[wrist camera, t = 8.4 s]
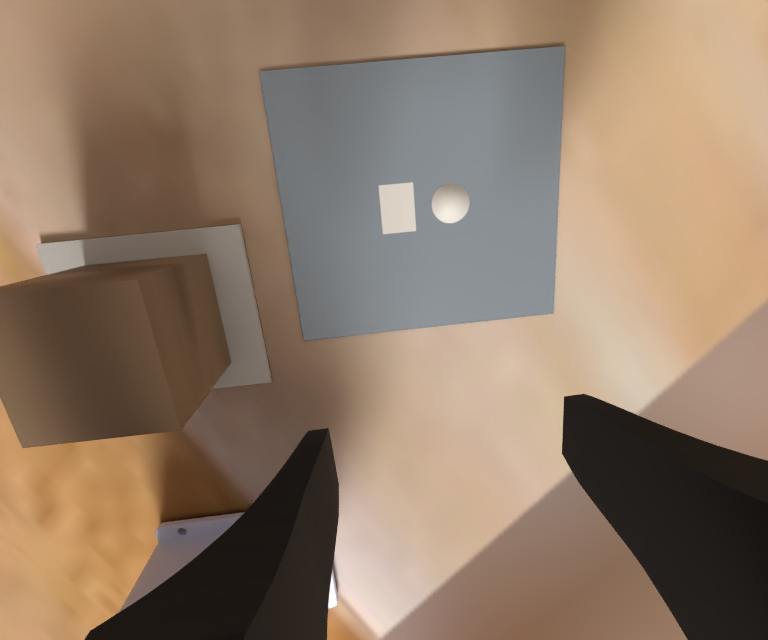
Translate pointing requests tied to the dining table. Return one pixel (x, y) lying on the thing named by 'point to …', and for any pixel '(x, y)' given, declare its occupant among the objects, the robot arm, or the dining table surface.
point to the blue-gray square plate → (419, 188)
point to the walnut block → (110, 349)
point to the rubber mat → (226, 273)
